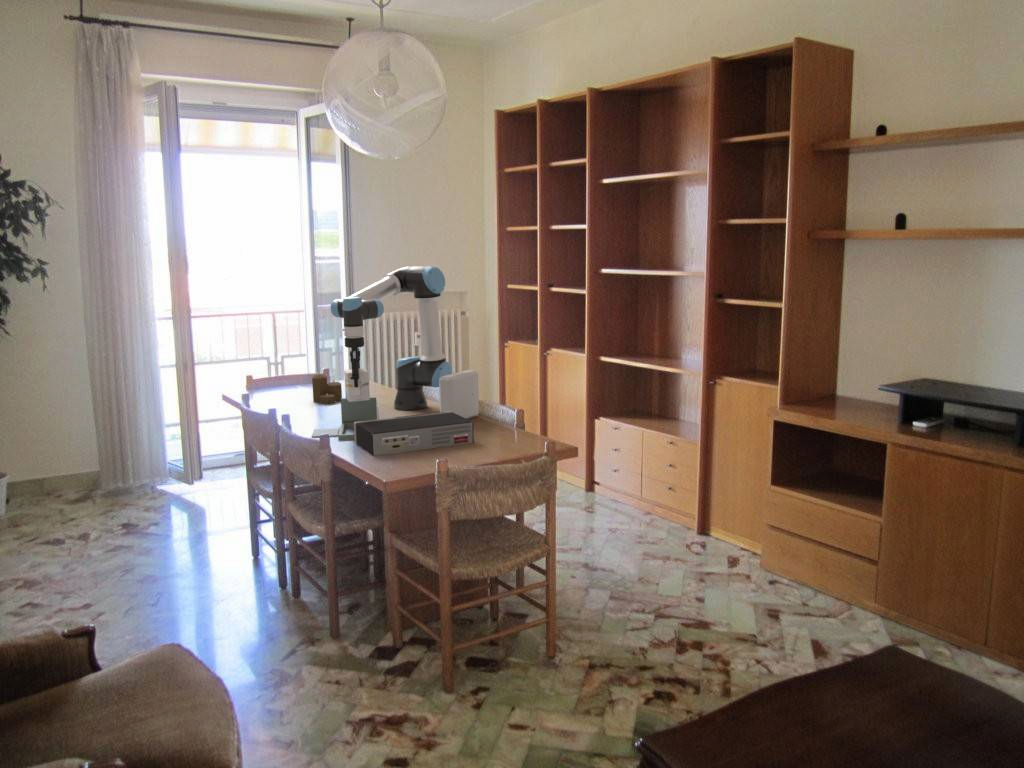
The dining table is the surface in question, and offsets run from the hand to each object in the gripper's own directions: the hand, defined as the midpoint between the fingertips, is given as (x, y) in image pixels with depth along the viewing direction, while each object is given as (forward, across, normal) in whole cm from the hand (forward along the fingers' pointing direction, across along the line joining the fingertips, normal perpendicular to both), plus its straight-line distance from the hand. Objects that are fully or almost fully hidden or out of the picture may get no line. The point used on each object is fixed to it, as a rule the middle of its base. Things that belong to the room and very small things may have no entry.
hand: (357, 392), depth 331 cm
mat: (+16, -1, -13) cm, 21 cm away
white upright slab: (+17, -17, +41) cm, 48 cm away
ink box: (+3, 0, 0) cm, 3 cm away
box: (+17, +20, +21) cm, 33 cm away
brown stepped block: (+17, -70, -19) cm, 75 cm away
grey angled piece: (+16, 0, 0) cm, 16 cm away
